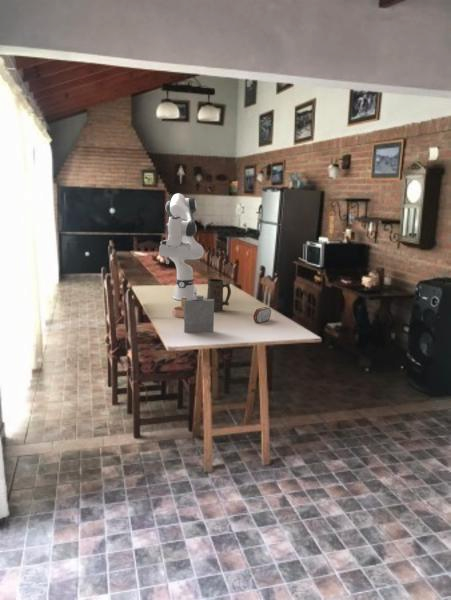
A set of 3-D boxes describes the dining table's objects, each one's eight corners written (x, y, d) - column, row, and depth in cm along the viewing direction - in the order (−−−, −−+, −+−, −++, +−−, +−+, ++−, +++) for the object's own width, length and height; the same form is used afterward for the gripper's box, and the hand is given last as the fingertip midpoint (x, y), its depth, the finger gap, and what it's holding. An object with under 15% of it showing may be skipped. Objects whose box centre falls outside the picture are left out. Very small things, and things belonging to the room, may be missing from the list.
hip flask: (212, 330, 272) (213, 294, 268) (214, 332, 268) (215, 296, 264) (183, 331, 268) (184, 294, 264) (184, 333, 265) (185, 296, 260)
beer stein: (207, 312, 313) (210, 280, 309) (203, 308, 323) (206, 278, 320) (230, 313, 318) (233, 282, 314) (226, 309, 328) (229, 279, 324)
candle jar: (177, 311, 312) (178, 305, 311) (197, 313, 308) (198, 307, 308) (169, 316, 299) (169, 309, 299) (190, 318, 296) (190, 312, 295)
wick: (183, 312, 306) (183, 296, 304) (186, 312, 305) (186, 297, 303) (181, 314, 302) (181, 297, 300) (184, 314, 302) (184, 298, 299)
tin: (267, 319, 301) (267, 305, 300) (271, 320, 300) (272, 306, 298) (252, 323, 290) (253, 309, 288) (256, 324, 288) (257, 310, 286)
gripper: (192, 242, 309) (192, 264, 311) (162, 240, 314) (161, 262, 317) (188, 243, 303) (188, 266, 305) (157, 241, 308) (157, 263, 311)
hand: (174, 264), depth 311 cm, fingers open, 8 cm apart
